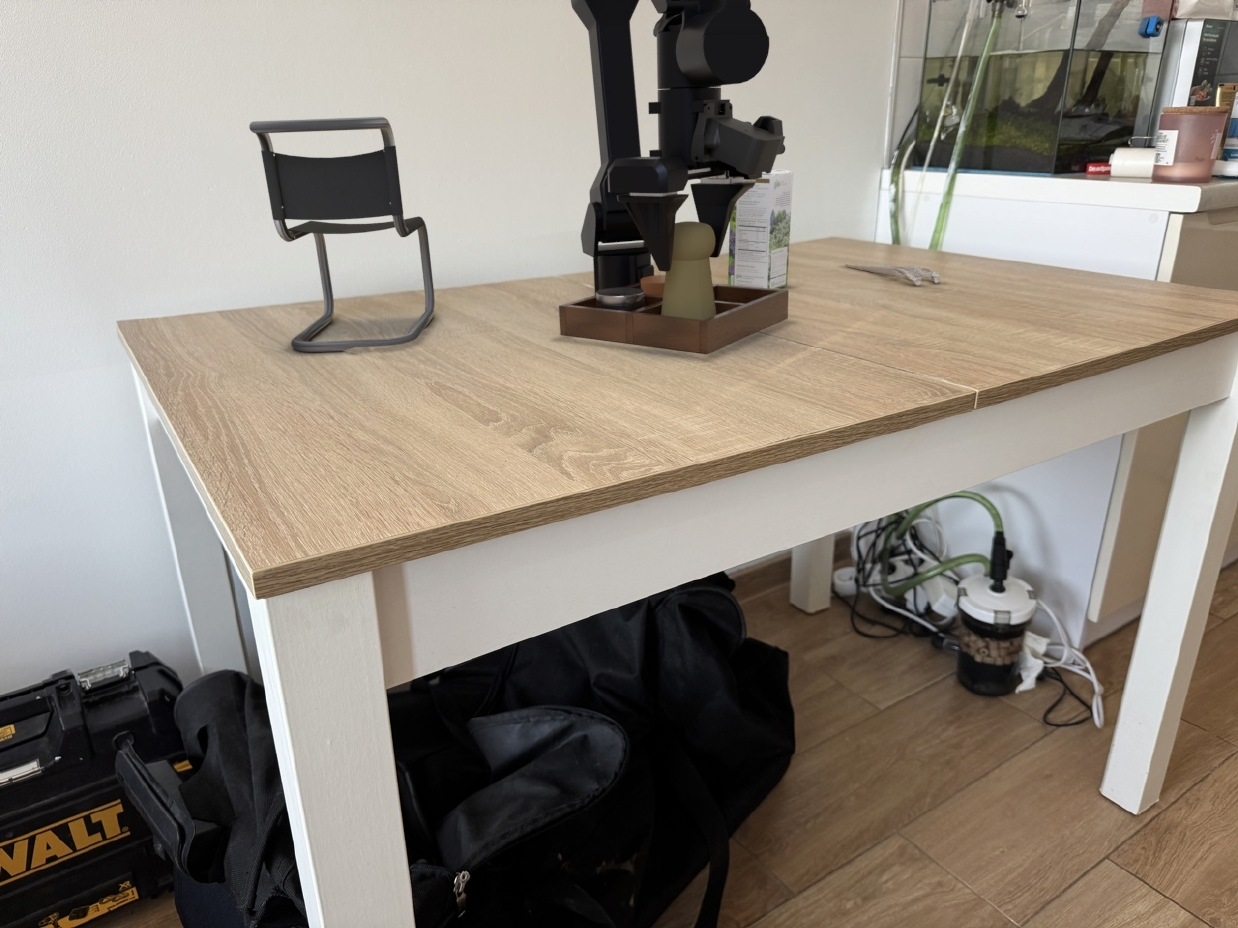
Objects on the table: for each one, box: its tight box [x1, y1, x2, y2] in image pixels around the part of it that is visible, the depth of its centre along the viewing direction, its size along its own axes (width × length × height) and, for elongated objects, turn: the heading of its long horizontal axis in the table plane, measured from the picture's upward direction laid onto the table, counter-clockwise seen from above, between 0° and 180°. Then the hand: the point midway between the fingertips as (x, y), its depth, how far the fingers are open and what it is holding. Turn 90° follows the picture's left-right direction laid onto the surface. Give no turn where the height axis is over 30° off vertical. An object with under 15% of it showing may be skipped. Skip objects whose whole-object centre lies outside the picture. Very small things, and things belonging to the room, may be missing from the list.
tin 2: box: [641, 274, 666, 296], centre depth 101 cm, size 5×5×4 cm
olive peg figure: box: [661, 220, 716, 320], centre depth 89 cm, size 6×6×11 cm
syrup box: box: [727, 168, 794, 289], centre depth 114 cm, size 6×6×14 cm
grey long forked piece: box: [844, 263, 942, 287], centre depth 123 cm, size 17×5×2 cm, turn 22°
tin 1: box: [596, 287, 645, 312], centre depth 94 cm, size 5×5×4 cm
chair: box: [248, 116, 436, 353], centre depth 96 cm, size 13×17×22 cm
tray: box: [558, 282, 790, 355], centre depth 95 cm, size 17×17×4 cm
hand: (690, 264), depth 88 cm, fingers open, 9 cm apart
